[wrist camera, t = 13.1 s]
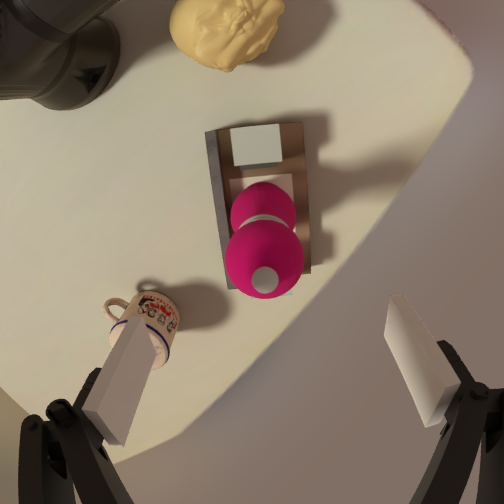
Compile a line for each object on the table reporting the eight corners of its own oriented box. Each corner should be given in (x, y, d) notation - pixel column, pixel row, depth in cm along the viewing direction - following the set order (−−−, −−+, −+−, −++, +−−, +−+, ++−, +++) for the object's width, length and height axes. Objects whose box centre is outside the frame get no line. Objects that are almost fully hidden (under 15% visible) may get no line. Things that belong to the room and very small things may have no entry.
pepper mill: (302, 195, 37) (343, 266, 19) (273, 243, 40) (283, 345, 21) (251, 167, 36) (241, 211, 18) (223, 217, 38) (191, 303, 20)
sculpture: (239, 91, 34) (231, 78, 24) (164, 45, 31) (133, 23, 21) (293, 26, 30) (305, -5, 20) (218, -17, 28) (205, -55, 18)
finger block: (233, 128, 34) (229, 128, 29) (276, 123, 34) (278, 123, 29) (238, 165, 36) (235, 171, 31) (279, 161, 36) (282, 167, 31)
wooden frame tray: (210, 131, 36) (207, 131, 34) (299, 122, 35) (302, 122, 34) (230, 273, 44) (229, 280, 42) (308, 266, 43) (310, 273, 41)
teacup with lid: (192, 311, 47) (176, 362, 36) (164, 342, 50) (146, 392, 39) (129, 266, 44) (97, 309, 33) (107, 303, 47) (76, 346, 36)
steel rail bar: (208, 131, 34) (204, 132, 32) (217, 130, 34) (215, 130, 32) (229, 280, 42) (228, 289, 40) (238, 279, 42) (237, 288, 40)
